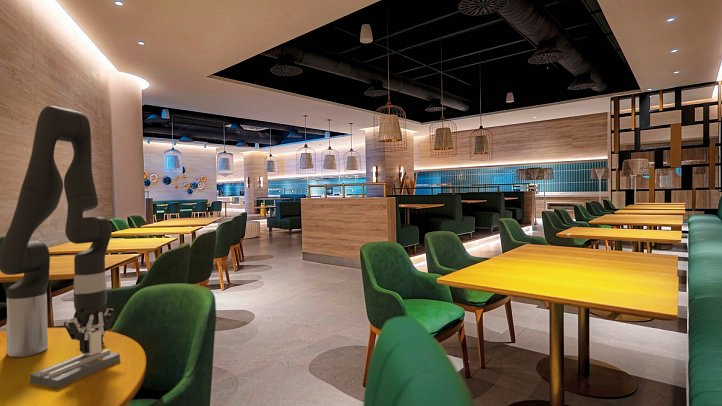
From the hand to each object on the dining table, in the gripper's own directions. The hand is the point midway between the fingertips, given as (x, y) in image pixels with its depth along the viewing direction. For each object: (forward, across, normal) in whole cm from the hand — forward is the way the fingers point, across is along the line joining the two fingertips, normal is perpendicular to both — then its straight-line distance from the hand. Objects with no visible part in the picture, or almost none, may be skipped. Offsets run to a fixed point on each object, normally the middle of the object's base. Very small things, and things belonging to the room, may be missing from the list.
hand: (91, 350), depth 110 cm
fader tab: (+2, 0, 0) cm, 2 cm away
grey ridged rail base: (+4, +4, 0) cm, 6 cm away
